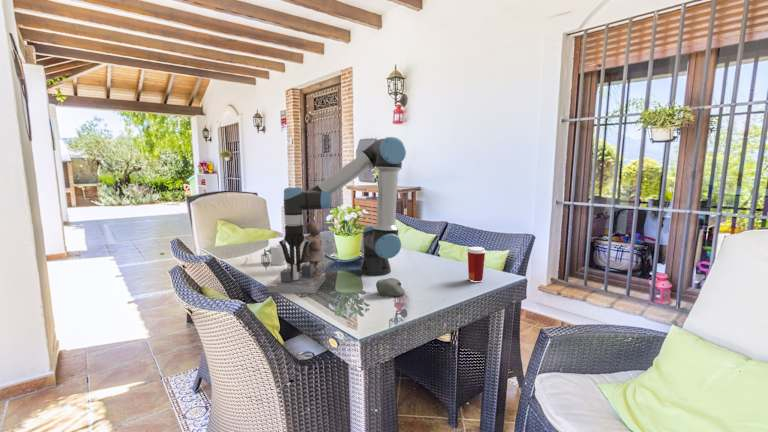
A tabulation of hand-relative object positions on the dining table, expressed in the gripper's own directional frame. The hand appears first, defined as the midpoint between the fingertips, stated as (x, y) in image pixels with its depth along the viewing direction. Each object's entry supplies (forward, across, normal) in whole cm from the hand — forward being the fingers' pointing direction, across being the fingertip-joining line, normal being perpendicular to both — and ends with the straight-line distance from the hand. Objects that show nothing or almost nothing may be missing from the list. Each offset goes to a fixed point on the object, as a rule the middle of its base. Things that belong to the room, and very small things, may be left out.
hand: (296, 279), depth 162 cm
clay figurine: (+5, +1, -31) cm, 31 cm away
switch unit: (+5, +1, -5) cm, 7 cm away
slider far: (+1, -2, -10) cm, 10 cm away
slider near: (+1, +4, 0) cm, 4 cm away
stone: (+5, -41, +4) cm, 41 cm away
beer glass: (+5, -78, -16) cm, 80 cm away
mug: (+5, +21, -42) cm, 47 cm away
